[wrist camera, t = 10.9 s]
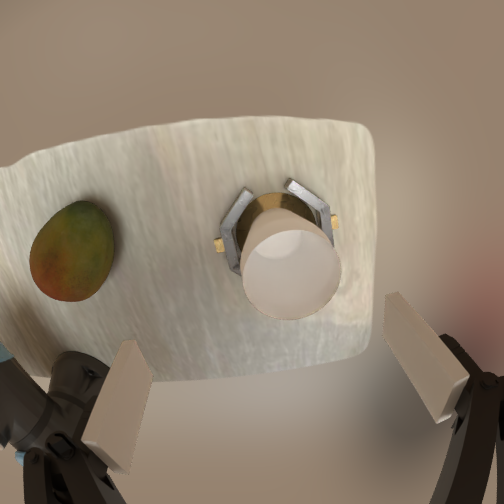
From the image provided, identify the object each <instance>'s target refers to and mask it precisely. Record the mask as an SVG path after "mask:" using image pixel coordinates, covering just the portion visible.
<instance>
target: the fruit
mask: <svg viewBox="0 0 504 504" xmlns="http://www.w3.org/2000/svg"><path fill="white" fill-rule="evenodd" d="M113 258H114V239H113V232H112V228H111V225H110V222H109V220H108V218H107V217H106V215H105V214H104V213H103V211H102V210H101V209H99V208H98V207H97V206H96V205H94V204H93V203H90V202H87V201H76V202H74V203H72V204H70V205H68V206H66V207H65V208H63V209H62V210H60V211H58V212H57V213H56V214H55V215H54V216H53V217H52V218H51V219H50V220H49V221H48V222H47V223H46V224H45V225H44V226H43V228H42V229H41V230H40V231H39V233H38V234H37V236H36V238H35V240H34V242H33V244H32V247H31V251H30V259H29V263H30V271H31V275H32V278H33V280H34V282H35V283H36V285H37V286H38V288H39V289H40V290H41V291H42V292H43V293H45V294H46V295H47V296H49V297H51V298H53V299H55V300H60V301H66V302H77V301H82V300H85V299H87V298H89V297H91V296H92V295H93V294H95V293H96V292H97V291H98V290H99V288H100V287H101V286H102V284H103V283H104V281H105V280H106V278H107V276H108V274H109V271H110V269H111V266H112V262H113Z"/></svg>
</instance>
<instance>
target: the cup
mask: <svg viewBox="0 0 504 504" xmlns="http://www.w3.org/2000/svg"><path fill="white" fill-rule="evenodd" d="M240 270H241V275H242V281H243V287H244V291H245V294H246V296H247V298H248V300H249V301H250V302H251V304H252V305H253V306H254V307H255V308H256V309H257V310H259V311H260V312H262V313H263V314H265V315H267V316H270V317H272V318H276V319H282V320H293V319H299V318H303V317H306V316H309V315H311V314H313V313H315V312H317V311H318V310H320V309H321V308H323V307H324V306H325V305H326V304H327V303H328V302H329V301H330V300H331V298H332V297H333V295H334V294H335V292H336V290H337V288H338V286H339V283H340V278H341V264H340V260H339V257H338V255H337V252H336V251H335V249H334V247H333V246H332V244H331V242H330V240H329V239H328V237H327V236H326V234H325V233H324V232H323V231H322V230H321V229H320V228H318V227H317V226H316V225H314V224H313V223H311V222H309V221H308V220H306V219H304V218H302V217H300V216H299V215H297V214H295V213H293V212H291V211H289V210H287V209H283V208H272V209H268V210H266V211H264V212H262V213H261V214H259V215H258V216H257V217H256V219H255V220H254V221H253V223H252V225H251V228H250V231H249V234H248V236H247V239H246V242H245V244H244V247H243V250H242V254H241V260H240Z"/></svg>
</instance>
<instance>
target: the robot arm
mask: <svg viewBox="0 0 504 504" xmlns="http://www.w3.org/2000/svg"><path fill="white" fill-rule="evenodd" d="M382 336H383V338H384V340H385V341H386V342H387V344H388V346H389V347H390V349H391V350H392V351H393V353H394V355H395V356H396V358H397V360H398V361H399V363H400V364H401V366H402V367H403V369H404V371H405V372H406V374H407V375H408V377H409V378H410V380H411V382H412V384H413V385H414V387H415V388H416V390H417V392H418V393H419V395H420V397H421V398H422V400H423V402H424V403H425V405H426V407H427V409H428V410H429V412H430V414H431V415H432V417H433V419H434V421H435V422H436V423H439V422H441V421H443V420H446V419H447V418H449V417H451V415H452V413H453V411H454V409H455V410H456V412H457V414H458V415H457V417H456V419H455V421H454V423H453V425H452V427H451V428H454V430H453V434H452V438H451V441H450V445H449V449H448V452H447V455H446V459H445V462H444V465H443V468H442V471H441V474H440V477H439V480H438V482H437V485H436V488H435V491H434V493H433V496H432V498H431V501H430V503H429V504H482V500H483V497H484V493H485V489H486V486H487V482H488V477H489V474H490V469H491V464H492V459H493V454H494V448H495V442H496V453H497V503H496V504H504V376H501V377H497V376H496V375H495V374H494V373H491V372H483V371H482V370H481V369H480V368H479V367H478V365H477V364H476V363H475V362H474V361H473V360H472V358H471V357H470V356H469V355H468V354H467V353H466V352H465V350H464V349H463V348H462V347H460V344H459V343H458V342H457V341H456V340H455V339H454V338H453V337H450V336H449V335H447V334H443V335H440V336H437V334H436V333H435V332H434V331H433V330H432V329H431V328H430V326H429V325H428V324H427V323H426V322H425V321H424V320H423V318H422V317H421V316H420V315H419V314H418V313H417V312H416V311H415V310H414V308H413V307H412V306H411V305H410V304H409V303H408V302H407V301H406V300H405V299H404V298H403V297H402V295H401V294H400V293H399V292H395V293H391V294H387V295H385V311H384V323H383V335H382ZM152 380H153V375H152V373H151V371H150V369H149V367H148V365H147V363H146V361H145V359H144V357H143V355H142V353H141V351H140V349H139V347H138V345H137V342H136V340H126V341H123V342H122V344H121V346H120V348H119V350H118V352H117V355H116V357H115V359H114V361H113V363H112V366H111V368H110V369H109V368H108V367H107V366H106V365H104V364H103V363H101V362H100V361H98V360H96V359H95V358H93V357H91V356H88V355H86V354H83V353H79V352H65V353H62V354H61V355H60V356H59V357H58V358H57V360H56V361H55V363H54V365H53V367H52V376H51V380H50V385H49V391H48V393H47V394H46V393H45V391H43V389H41V387H40V386H39V385H38V384H37V383H36V382H35V381H34V380H33V379H32V378H31V377H30V376H29V374H28V373H27V372H26V371H25V370H24V369H23V368H22V366H21V365H20V364H19V363H18V362H17V360H16V359H15V358H14V355H13V354H11V353H10V352H9V351H8V350H7V349H6V347H5V346H4V345H3V344H2V343H1V342H0V450H3V449H4V448H5V447H6V445H7V443H8V442H9V443H10V444H11V445H12V446H13V447H15V448H16V449H17V451H16V452H15V458H16V460H17V461H18V462H19V463H20V464H21V465H22V466H23V481H24V501H25V504H126V502H125V501H124V499H123V497H122V496H121V494H120V493H119V491H118V489H117V488H116V486H115V484H114V483H113V481H112V479H111V478H110V476H109V475H108V474H107V473H106V472H107V468H108V467H109V468H110V469H111V470H112V471H113V472H114V473H121V474H129V472H130V467H131V463H132V459H133V454H134V450H135V446H136V441H137V437H138V433H139V429H140V425H141V421H142V417H143V413H144V410H145V406H146V402H147V398H148V394H149V391H150V387H151V384H152Z"/></svg>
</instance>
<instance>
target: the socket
mask: <svg viewBox="0 0 504 504" xmlns="http://www.w3.org/2000/svg"><path fill="white" fill-rule="evenodd" d="M284 186H285V188H286V189H287V190H289V191H290V192H292V193H293V194H295V195H296V196H298V197H299V198H301V199H302V200H304V201H305V202H306V203H308V204H309V205H311V206H312V207H314V208H315V209H316V214H317V222H318V228H320V229H321V230H322V231H323V232H324V233H325V234H326V236H327V237H328V239H329V240H330V242H331V244H332V246H333V247H334V241H333V232H332V229H337V228H338V220H337V216H336V215H332V216H331V215H330V208H329V206H328V205H327V204H326V203H325V202H323V201H322V200H321V199H319V198H318V197H316V196H315V195H314V194H312V193H311V192H309V191H308V190H307V189H305V188H304V187H302V186H301V185H300V184H298V183H297V182H295V181H294V180H292V179H291V178H289V180H288V181H287V183H286V184H285V185H284ZM253 196H254V194H253V192H252V191H250V190H249V189H247V188H246V187H244V188H243V190H242V191H241V193H240V194H239V196H238V197H237V199H236V200H235V202H234V203H233V205H232V206H231V208H230V209H229V211H228V212H227V214H226V215H225V217H224V219H223V220H222V222H221V225H220V232H221V236H222V238H219V239H214V243H215V247H216V250H217V253H219V252H224V251H225V252H226V256H227V260H228V264H229V267H230V269H231V271H233V272H235V273H236V274H238V275H240V276H242V275H241V270H240V260H241V258H240V257H239V255H238V251H237V247H236V243H235V238H234V234H233V230H232V228H233V226H234V225H235V223H236V221H237V220H238V218H239V220H238V223H237V228H236V238H237V243H238V246H239V248H240V250H241V252H242V250H243V247H244V244H245V242H246V239H247V236H248V234H249V231H250V228H251V225H252V223H253V221H254V220H255V219H256V217H257V216H258V215H259V214H261V213H262V212H264V211H266V210H268V209H272V208H283V209H287V210H289V211H291V212H293V213H295V214H297V215H299V216H300V217H302V218H304V219H306V220H308V221H309V222H311V223H313V224H314V225H316V221H315V218H314V215H313V213H312V212H311V210H310V209H309V207H308V206H307V205H306V204H305V203H304V202H303V201H301V200H300V199H298V198H297V197H295V196H292V195H290V194H286V193H269V194H266V195H263V196H260V197H258V198H256V199H255V200H253V201H252V202H251V203H249V202H250V201H251V199H252V198H253Z"/></svg>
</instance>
